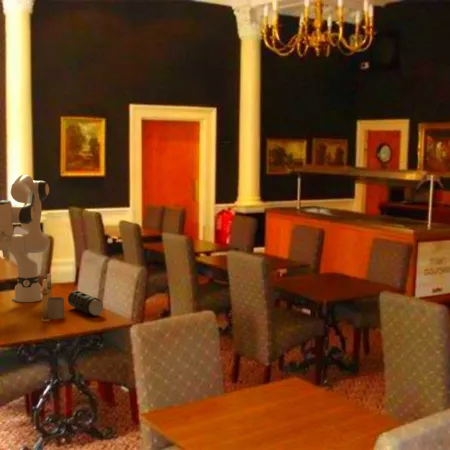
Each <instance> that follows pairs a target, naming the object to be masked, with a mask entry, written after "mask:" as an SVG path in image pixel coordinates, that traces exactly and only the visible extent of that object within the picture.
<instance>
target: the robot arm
mask: <svg viewBox="0 0 450 450" xmlns="http://www.w3.org/2000/svg"><path fill="white" fill-rule="evenodd" d="M49 194H50V187H49V183H48V182H47V181H44V180H34V179H33V177H31V176H30V175H28V174H22V175H20V176H18V178H17V179H16V180H14V182H13V184H11V188H10V195H11V198H12V199H13V200H14V201H16V202H17V203H20V204H21V203H22V204H23V205H12V201H11V200H9V199H8V200H7V199H2V200H0V251H1V253H2V257H3V258H7V257H8V252H9V254H10V255H12V256H13V258H14V259H15V262H16V265H17V279H16V281H17V284H16V285H15V286H14V297H12V298H11V301H13V302H18V303H33V302H39V301H40V302H41V301H42V293H41V291H42V286H41V284H40V282H39V280H40V278H39V275H38V263H37V261H36V260H34V259H33V258H30V257H29V255H28V254H41V253H45V252H47V251H48V250H49V248H50V246H51V245H50V244H51V242H50V239H49V238H48V236H47V235H46V234H45V233H43V231H42V229H41V221H42V209H43V208H42V202H44V201H45V199H46V198H48V196H49ZM14 224H20V227H21V229H23V230H24V231H25V232H28V233H21V234H20V233H16V234H14Z"/></svg>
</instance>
